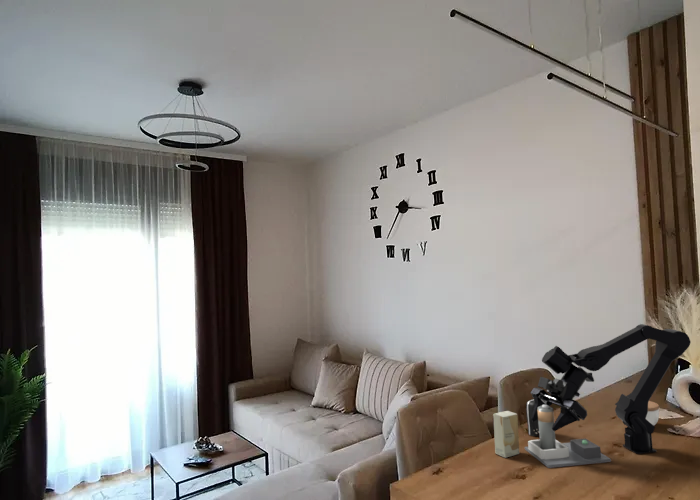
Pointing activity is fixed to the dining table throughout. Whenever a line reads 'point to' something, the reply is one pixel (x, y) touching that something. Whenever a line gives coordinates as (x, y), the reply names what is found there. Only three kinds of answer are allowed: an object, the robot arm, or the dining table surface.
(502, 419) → the skincare box
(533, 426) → the battery charger
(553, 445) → the big cell
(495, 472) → the dining table surface
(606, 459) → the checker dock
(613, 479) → the dining table surface
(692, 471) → the dining table surface
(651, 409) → the lidded jar
